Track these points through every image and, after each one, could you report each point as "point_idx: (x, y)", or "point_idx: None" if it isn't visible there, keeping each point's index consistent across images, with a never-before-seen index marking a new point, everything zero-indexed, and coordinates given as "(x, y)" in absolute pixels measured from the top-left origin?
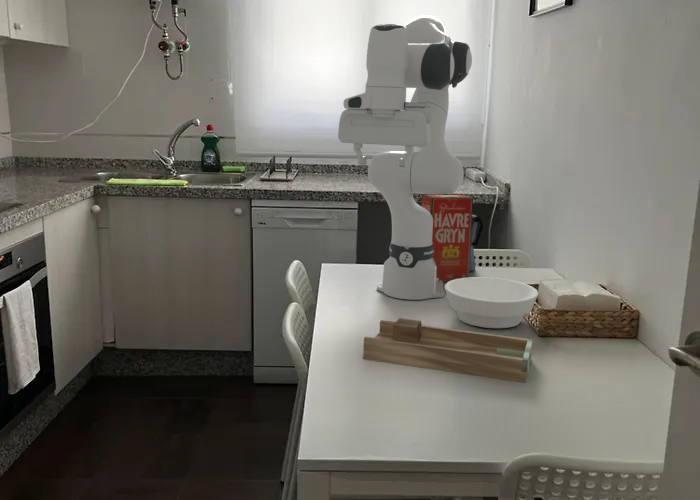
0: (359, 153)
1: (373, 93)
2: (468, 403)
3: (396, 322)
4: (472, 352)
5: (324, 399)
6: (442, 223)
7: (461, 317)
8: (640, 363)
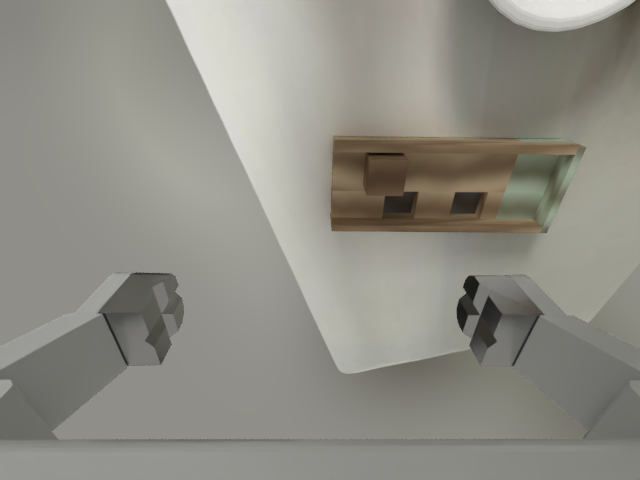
0: (96, 391)
1: None
2: (455, 282)
3: (369, 183)
4: (478, 230)
5: (324, 312)
6: None
7: None
8: None
